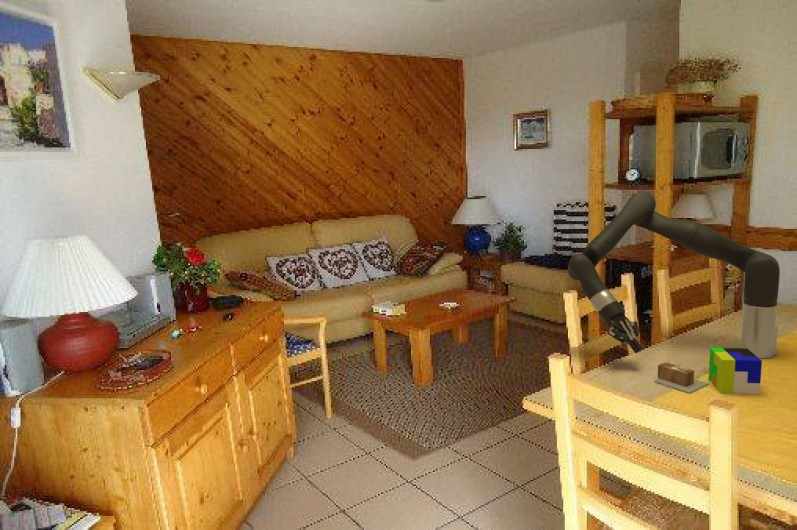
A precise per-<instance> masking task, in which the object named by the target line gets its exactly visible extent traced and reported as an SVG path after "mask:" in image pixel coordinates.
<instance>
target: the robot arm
mask: <svg viewBox="0 0 797 530" xmlns="http://www.w3.org/2000/svg"><path fill="white" fill-rule="evenodd" d="M656 205H657V202H656V199H655V197H654V196H653V194H651V193H650V192H645V191H640V192H636V193H634V194H632V195H631V196H630V198H629V199H628V201H627V202H626V203H625V205H624V206H623V207H622V209H621V210H620V211H619V212H618V214H617V215H616V216H615V217H614V218H613V219H612V220H611V222H609V223H608V224H607V225H606V226H605V227H604V228H603V229H602V230H601V231H600V232H599V233H598V234H597V235H596V236H595V237H594V238H593V239H592V240H591V241H590V242H589V243H587V245H586V247H584V250H583V252H582V253H576V254H574V255H573V256H571V258H570V259H569V262H568V266H567V274H568V276H569V278H570V279H572V280H574V281H579V282H580V284H581V289H582V292H583V293H584V295H585V296H586V297H587V299H588V301H589V302H590V303H591V306H592V307H593V309H594V311H595V312H596V313H597V314H598V316H599V317H600V319H601V321H603V323H604V324H605V325H608V328H609V331H608V332H607V335H608V336H610V337H612V338H613V339H615V340H616V341H618V342H620V343H621V344H625V343H626V344H628V345H629V347H630V348H631V349H632V351H633V352H634V353H635V354H638V353H640V352H642V351H643V346H642V345H641V344H640V342H639V341H638V339H637V338H638V337H639V336H640V333H639V325H638V322H637V321H635V320H634V321H630V318H629V317H627V316H626V314H625V313H626V310H625V309H624V307H623V306H622V305H621V303H620V302H619V301H618V299H617V298H616V297H615V295H614V294H613V293H612V292H611V291H610V290H609V288H608V287H607V286H606V285H605V283H604V282H603V280H602V278H601V277H600V276H599V273H598V272H597V269H596V267H597V265H598V264H599V263H600V262H601V260H603V259H604V258H605V257H606V256H607V255H608V254H609V253H611V251H612V250H613V249H614V248H615V247H616V246H617V245H618V243H619V242H620V241H621V240H622V239H623V237H624V236H625V235H626V233H627V232H628V231H629V230H630V229H631V228H632V227H633V226H636V227H639V228H642V229H645V230H647V231H650V232H653V233H655V234H658V235H659V236H661V237H664V238H666V239H667V240H670V241H672V242H674V243H676V244H679V245H680V246H682V247H684V248H686V249H688V250H690V251H693V252H694V253H696V254H697V255H701V256H703V257H707V258H711V259H714V260H718V261H721V262H724V263H727V264H729V265H731V266H733V267H735V268H736V269H738V270H740V271H742V272H744V285H743V303H742V318H741V319H742V320H741V321H742V322H741V334H740V335H741V336H740V348H747V349H749V350H750V351H751V352H752V353H753V354H755V355H756V356H757V357H758V358H759V359H770V358H772V357H774V356H776V355H777V345H778V344H777V343H778V331H779V330H778V329H779V327H778V326H776V324H777V322H776V321H777V309H778V308H777V307H778V306H777V305H778V300H779V299H778V298H779V286H780V277H781V275H780V272H781V270H780V265H779V261H778V260H777V259H776V258H775V257H774V256H772V255H771V254H768V253H765V252H762V251H759V250H756V249H753V248H751V247H748V246H745V245H743V244H741V243H738V242H736V241H735V240H733V239H731V238H730V237H728V236H726V235H725V234H722V233H721V232H719V231H717V230H715V229H713V228H710V227H709V226H707V225H705V224H702V223H701V222H697V221H694V220H688V219H679V218H672V217H669V216H666V215H663V214H661V213H659V212H657V211H656Z"/></svg>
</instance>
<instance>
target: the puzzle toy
mask: <svg viewBox="0 0 797 530" xmlns="http://www.w3.org/2000/svg"><path fill="white" fill-rule="evenodd" d="M708 362H709V363H708V364H709V365H708V367H709V368H708V381H711V382H712V383H711V382H710V383H711V384H712V385H713V387H715V389H716V388H717V389H716V390H717V391H718V392H719V393H720V394H730V395H731V394H733V395H735V394H737V395H740V394H741V395H760V394H761V393H760V391H761V381H762V380H761V379H762V365H763V360H762V358H758V357H757V356H756V355H755V354H753V353H752V352H751V351H750V350H749V349H747V348H741V347H738V348H736V347H734V348H733V347H727V348H726V347H710V348H709V361H708Z"/></svg>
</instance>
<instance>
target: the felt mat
mask: <svg viewBox="0 0 797 530" xmlns="http://www.w3.org/2000/svg"><path fill="white" fill-rule="evenodd" d="M655 382H656V383H655ZM653 383H655V384H658V383H660V384H659V385H661V384H663V385H662V386H664V385H666V386H665V387H667V386H669V387H668V388H670V387H672V388H671V389H673V388H675V389H674V390H676V389H678V390H677V391H679V390H681V391H680V392H682V391H684V392H683V393H685V392H686V393H685V394H688V393H690V394H692V393H694V392H696V391H699V390H701V389H703V388H705V387H707V386H709V384H710V383H709V382H705V381H701V380H698V379H696V378H694V383H693V384H691V385H689V386H687V387H685V386H682V385H679V384H676V383H673V382H670V381H667V380H663V379H660V378H657V379H655V380H653ZM704 386H705V387H704ZM702 387H703V388H702ZM700 388H701V389H700ZM698 389H699V390H698ZM691 392H692V393H691Z"/></svg>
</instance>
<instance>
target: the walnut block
mask: <svg viewBox="0 0 797 530" xmlns="http://www.w3.org/2000/svg"><path fill="white" fill-rule="evenodd" d="M659 378H660V379H663V380H667V381H670V382H673V383H676V384H679V385H682V386H685V387H687V386H689V385H691V384H693V383H694V379H695V369H690V368H687V367H684V366H680V365H677V364H674V363H671V362H668V361H667V362H666V361H664V362H662V363H660V364H658V365H657V379H659Z"/></svg>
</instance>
